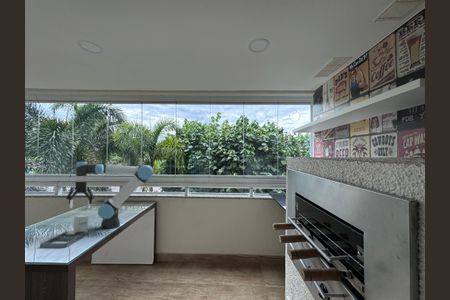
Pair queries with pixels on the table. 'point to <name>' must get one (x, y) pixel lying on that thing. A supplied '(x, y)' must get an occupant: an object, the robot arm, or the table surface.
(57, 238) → the grey flat rectangular frame
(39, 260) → the table surface
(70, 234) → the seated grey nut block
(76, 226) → the supplement box
